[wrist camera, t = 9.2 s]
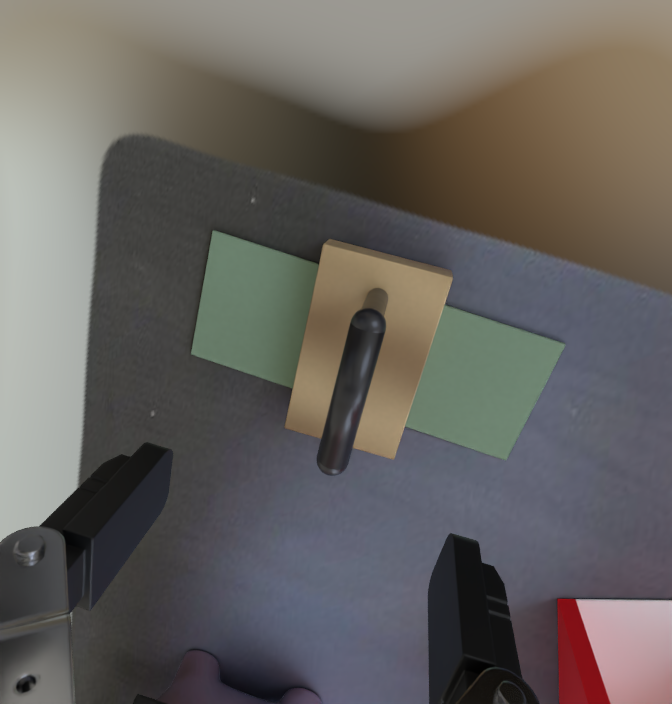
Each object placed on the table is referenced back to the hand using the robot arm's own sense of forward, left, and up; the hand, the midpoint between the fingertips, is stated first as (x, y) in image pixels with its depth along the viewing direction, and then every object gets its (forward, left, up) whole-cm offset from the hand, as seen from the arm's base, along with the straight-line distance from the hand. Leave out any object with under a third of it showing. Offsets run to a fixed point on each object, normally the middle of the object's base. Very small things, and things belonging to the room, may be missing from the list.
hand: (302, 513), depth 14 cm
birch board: (0, 0, -13) cm, 13 cm away
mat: (0, 0, -13) cm, 13 cm away
